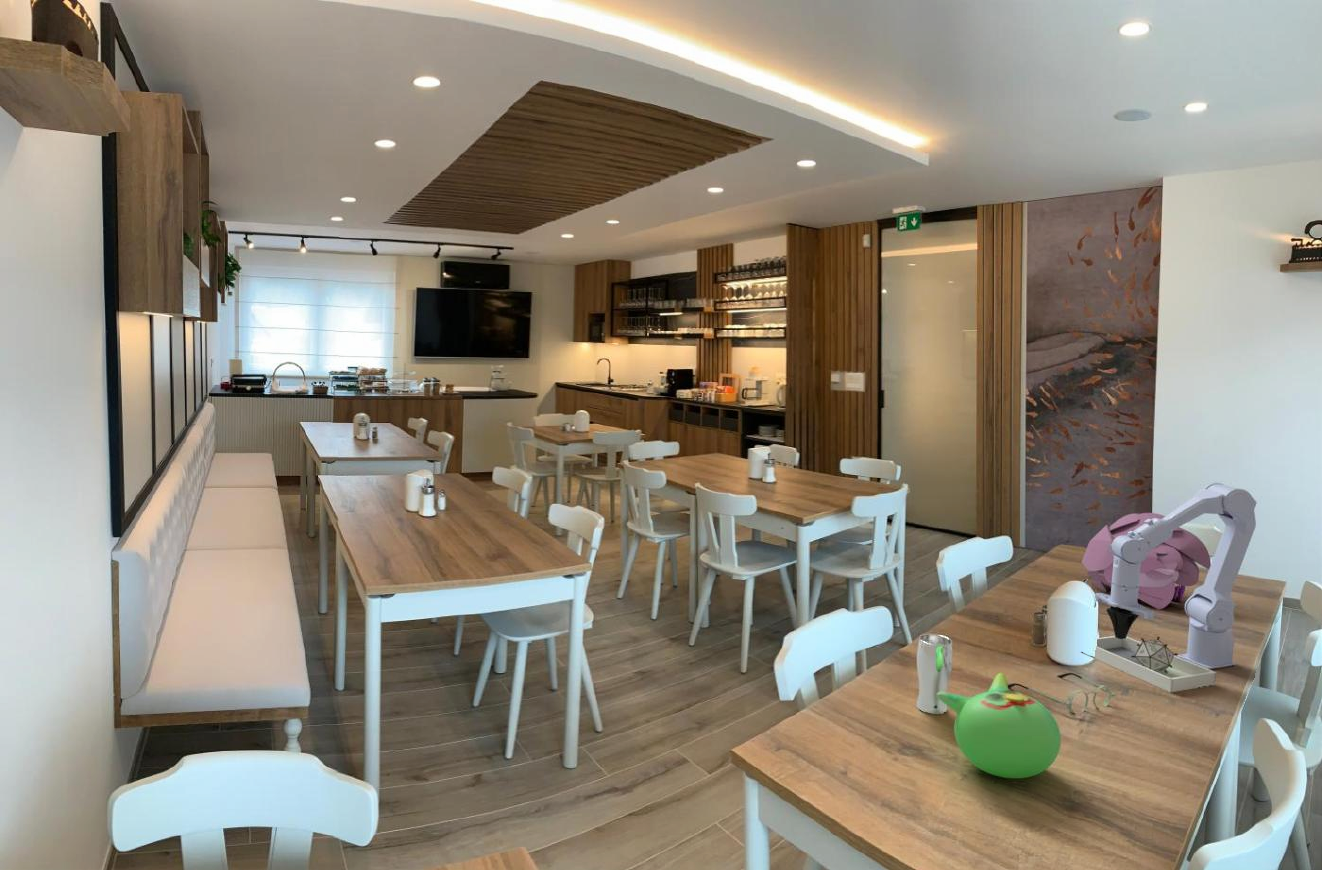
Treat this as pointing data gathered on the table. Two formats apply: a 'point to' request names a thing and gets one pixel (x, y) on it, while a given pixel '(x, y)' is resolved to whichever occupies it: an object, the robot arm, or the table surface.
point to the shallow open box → (1175, 680)
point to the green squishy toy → (1004, 731)
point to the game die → (1154, 655)
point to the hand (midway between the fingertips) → (1120, 637)
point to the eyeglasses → (1071, 696)
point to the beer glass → (933, 671)
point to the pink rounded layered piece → (1150, 561)
